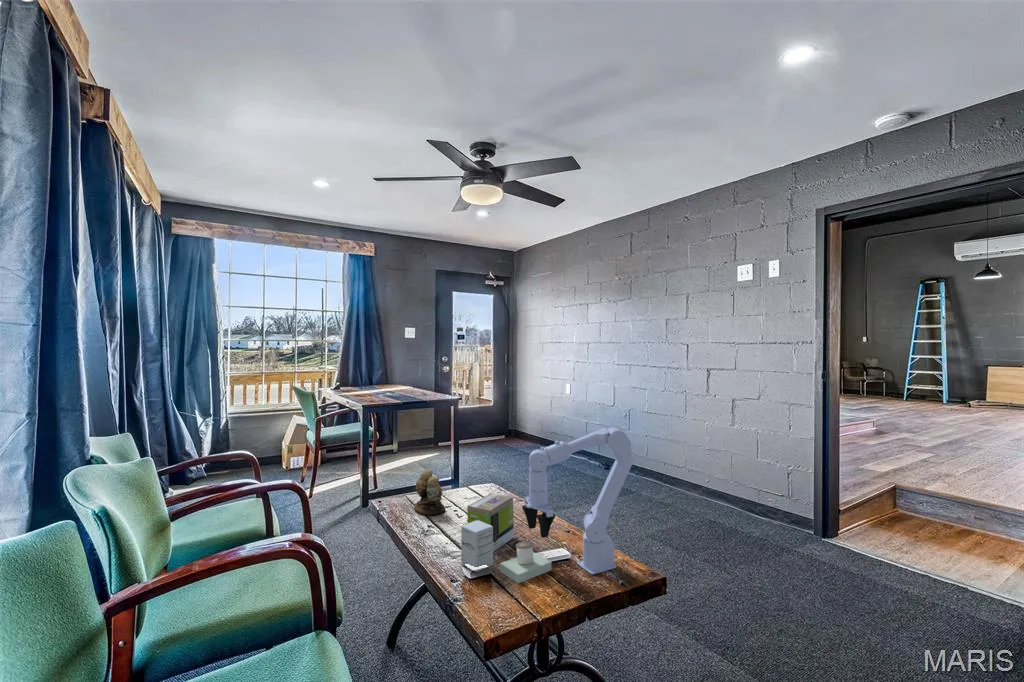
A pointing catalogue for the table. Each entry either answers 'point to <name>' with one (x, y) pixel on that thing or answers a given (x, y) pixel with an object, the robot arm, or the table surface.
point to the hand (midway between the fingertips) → (538, 532)
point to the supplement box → (477, 544)
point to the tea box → (494, 516)
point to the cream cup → (525, 552)
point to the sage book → (525, 568)
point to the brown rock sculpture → (429, 495)
